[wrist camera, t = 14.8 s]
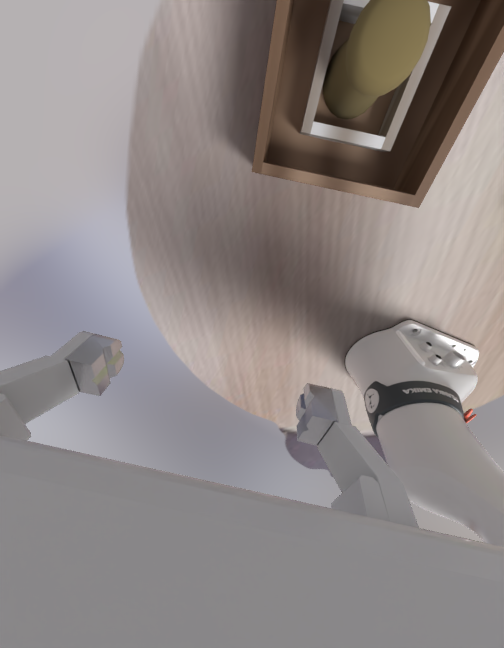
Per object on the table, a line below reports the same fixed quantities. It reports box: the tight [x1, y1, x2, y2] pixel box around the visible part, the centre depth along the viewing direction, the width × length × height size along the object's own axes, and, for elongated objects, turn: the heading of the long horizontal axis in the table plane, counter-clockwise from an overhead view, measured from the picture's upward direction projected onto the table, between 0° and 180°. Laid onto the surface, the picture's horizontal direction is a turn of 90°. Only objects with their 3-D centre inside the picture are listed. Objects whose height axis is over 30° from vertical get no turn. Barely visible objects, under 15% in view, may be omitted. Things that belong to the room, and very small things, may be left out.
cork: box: [323, 0, 431, 120], centre depth 20 cm, size 6×6×11 cm
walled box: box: [252, 0, 504, 208], centre depth 22 cm, size 18×18×7 cm
